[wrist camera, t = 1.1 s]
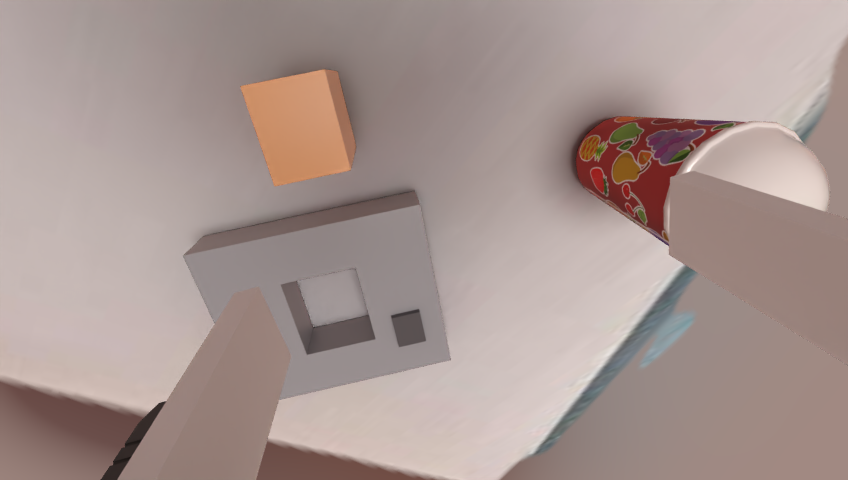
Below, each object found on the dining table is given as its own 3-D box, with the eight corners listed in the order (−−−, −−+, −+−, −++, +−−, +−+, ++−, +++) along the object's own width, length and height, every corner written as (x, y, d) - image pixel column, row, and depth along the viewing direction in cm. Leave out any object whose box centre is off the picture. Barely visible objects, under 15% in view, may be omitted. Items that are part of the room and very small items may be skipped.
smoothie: (602, 218, 37) (827, 356, 19) (540, 165, 35) (733, 264, 16) (670, 145, 35) (994, 220, 17) (610, 83, 33) (917, 90, 14)
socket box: (203, 236, 33) (179, 258, 29) (414, 190, 34) (420, 206, 30) (264, 375, 39) (251, 410, 35) (443, 333, 40) (452, 363, 36)
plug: (280, 83, 30) (240, 86, 21) (339, 71, 30) (324, 69, 21) (302, 155, 32) (274, 186, 23) (356, 143, 32) (350, 170, 23)
